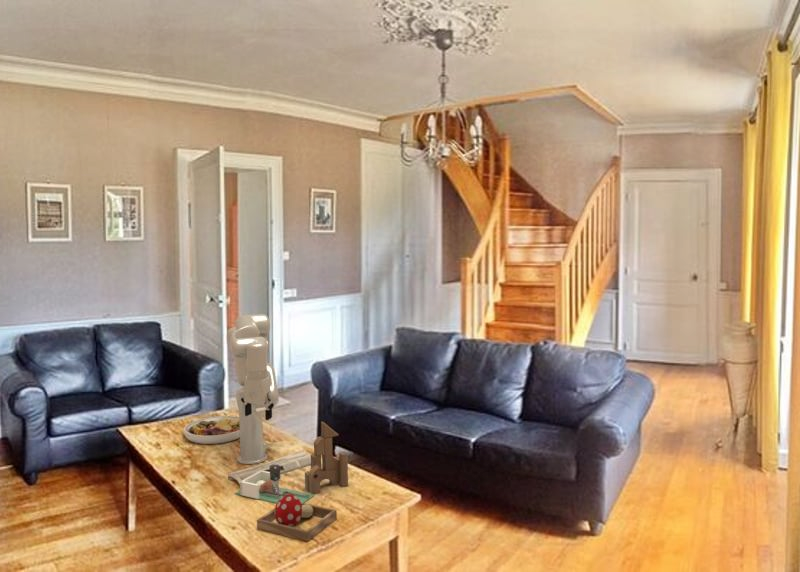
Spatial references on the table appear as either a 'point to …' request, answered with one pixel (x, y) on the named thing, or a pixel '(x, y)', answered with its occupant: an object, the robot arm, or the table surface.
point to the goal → (253, 484)
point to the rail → (286, 493)
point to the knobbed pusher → (273, 482)
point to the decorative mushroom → (291, 510)
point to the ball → (260, 484)
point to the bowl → (213, 430)
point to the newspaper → (286, 464)
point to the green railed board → (278, 499)
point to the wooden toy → (326, 463)
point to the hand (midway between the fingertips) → (258, 417)
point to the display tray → (297, 533)
